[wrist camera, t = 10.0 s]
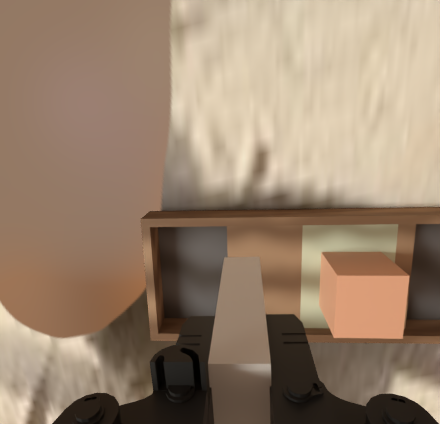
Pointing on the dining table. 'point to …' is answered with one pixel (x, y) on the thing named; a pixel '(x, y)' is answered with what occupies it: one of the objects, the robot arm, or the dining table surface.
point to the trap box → (287, 262)
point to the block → (363, 295)
